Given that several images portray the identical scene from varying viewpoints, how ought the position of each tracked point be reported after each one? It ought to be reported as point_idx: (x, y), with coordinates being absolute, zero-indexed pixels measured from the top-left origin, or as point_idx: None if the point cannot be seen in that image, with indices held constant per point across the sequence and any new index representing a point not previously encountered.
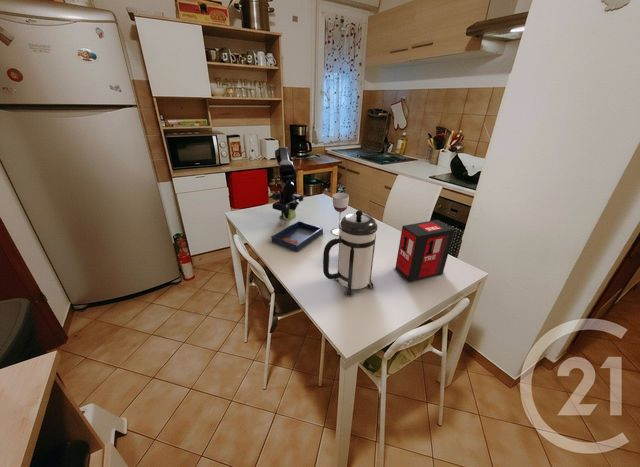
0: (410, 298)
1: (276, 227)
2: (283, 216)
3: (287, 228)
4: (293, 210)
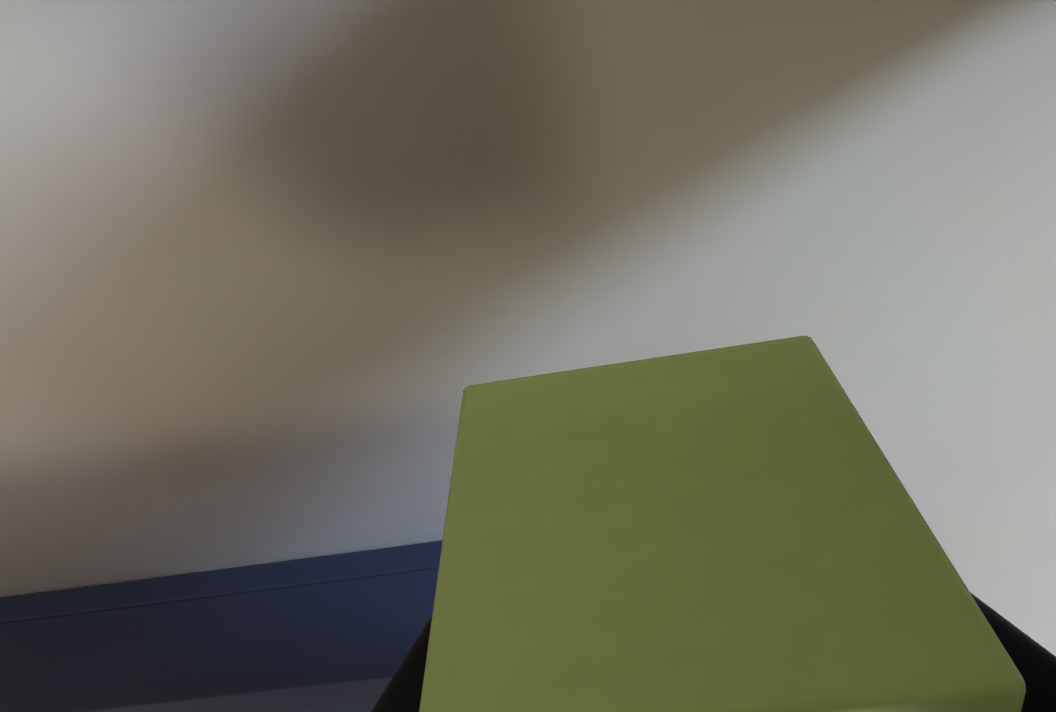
0: None
1: (247, 129)
2: (455, 462)
3: (262, 709)
4: None
